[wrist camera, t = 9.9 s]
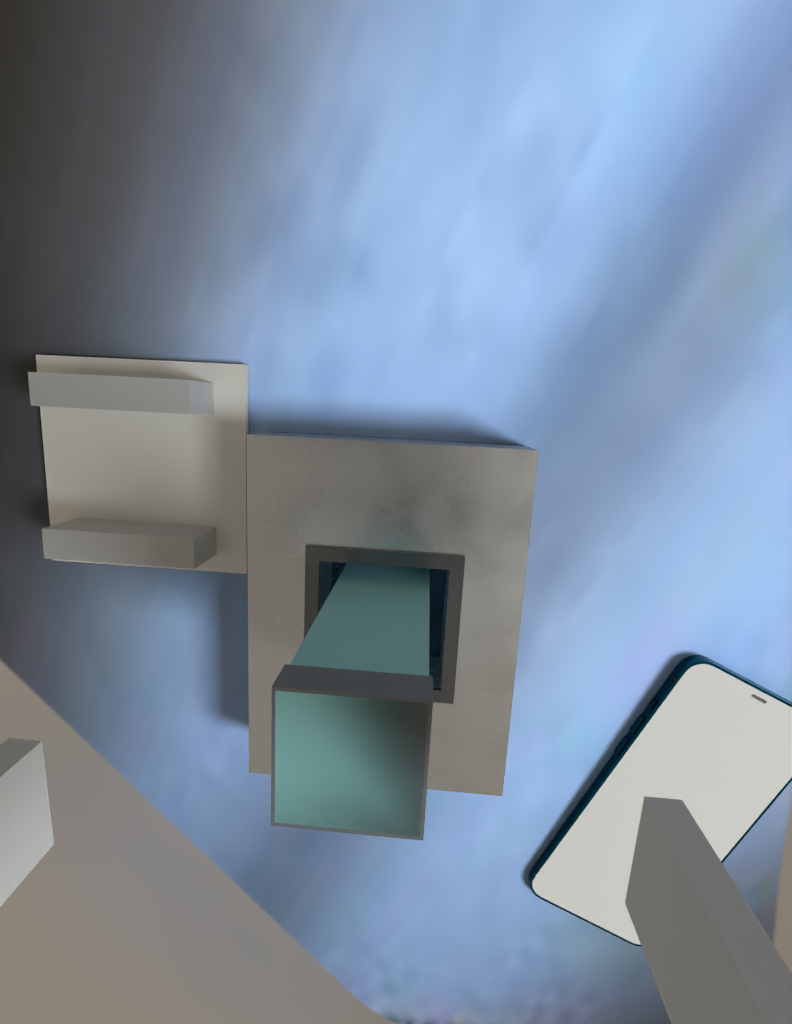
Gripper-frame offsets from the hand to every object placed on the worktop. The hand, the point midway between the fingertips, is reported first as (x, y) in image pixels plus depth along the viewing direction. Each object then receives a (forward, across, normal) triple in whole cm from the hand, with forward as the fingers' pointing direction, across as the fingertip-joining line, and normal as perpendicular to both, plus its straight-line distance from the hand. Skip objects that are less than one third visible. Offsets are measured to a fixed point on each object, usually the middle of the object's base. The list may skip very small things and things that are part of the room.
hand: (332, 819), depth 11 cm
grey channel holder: (+14, -12, +5) cm, 20 cm away
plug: (+14, 0, -1) cm, 14 cm away
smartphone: (+15, +15, -11) cm, 24 cm away
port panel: (+14, 0, -1) cm, 14 cm away
